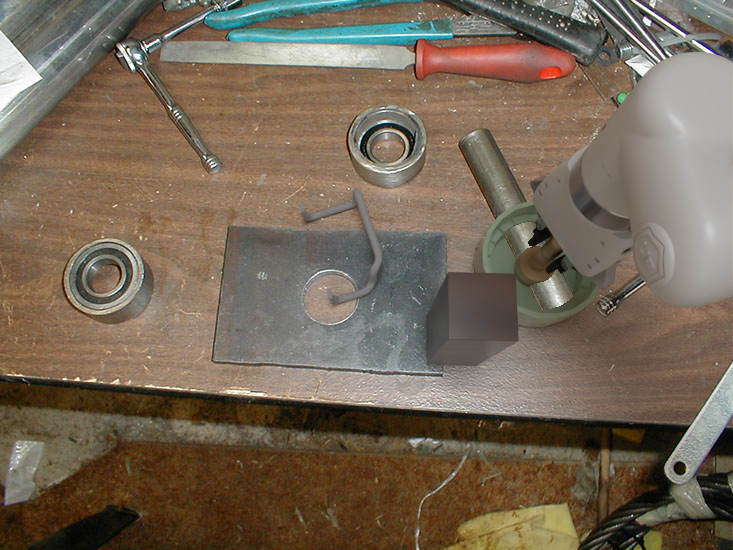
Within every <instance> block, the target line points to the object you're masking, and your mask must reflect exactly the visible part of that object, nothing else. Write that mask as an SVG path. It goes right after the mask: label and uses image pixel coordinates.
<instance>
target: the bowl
mask: <svg viewBox="0 0 733 550" xmlns="http://www.w3.org/2000/svg"><path fill="white" fill-rule="evenodd" d="M538 218H539V216H538V212H537V210H536V208H535V206H534V203H533V200H529V201H525V202H522V203H518V204H515V205H512V206H510V207H509V208H508V209H506V210H505V211H503V212H502V213H500V214H499V215H498V216H496V218H495V219H494V220H493V222H492V224H491V225H490V226H489V227H488V229H487V230H486V232H485V234H484V236H483V237H482V239H481V241H480V242H479V244H478V247H477V250H476V253H475V256H474V259H473V263H474V264H473V268H474V269H473V270H474V271H473V273H504V274H514V264H515V261H516V258H515V256H514V254H513V252H512V250H511V248H510V246H509V244H508V243H507V240H506V238H505V234H506V233H507V232H508V231H509V230H510V229H511V228H512V227H514V226H516V225H519V224H521V223H525V222H533V223H535V220H537V219H538ZM549 239H550V238H549ZM549 239H547V241H548V240H549ZM564 254H565V253H564V251H563V252H562V253H561V254H560V255H559V256H558V257H557V258H559V257H560V256H562V255H564ZM564 274H565V276H566V278H567V280H568V282H569V284H570V286H571V288H572V290H573V294H574V295H573V297H572V298H571V299H570V300H569V301H567V302H566V303H564V304H563V305H561V306H559V307H555V308H552V309H548V310H541V307H540V305H539V304H538V302H537V300H536V298H535V297H534V295H533V293H532V290H531V288H530V287H528V286H525V285H523V284H521V283H520V282H519V281H518V280H517V279H516V291H517V315H518V326H522V327H529V328H530V327H531V328H545V327H548V326H552V325H555V324H559V323H561V322H563V321H565V320H567V319H568V318H570V317H572V316H574V315H576V314H577V313H580V311H582V310H583V309H585V308H586V307H587V306H589V305H590V304H591V303H592V302H593V301H594V300H595V298H596V297H597V295H598V294H599V293H600V292H601V289H600V288H599V287H598V286H597V285H596V284H594V283H593V282H592V281H591V280H590V277H587V276H586V277H585V276H583V275H581V274H580V273H578V272H577V271H575V270H573V269H572V268H571V269H570V270H568V271H566V272H564Z"/></svg>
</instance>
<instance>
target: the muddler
mask: <svg viewBox="0 0 733 550" xmlns="http://www.w3.org/2000/svg"><path fill="white" fill-rule="evenodd" d="M562 252H563V250H562V248H561V247H560V245H559V244H558V242H557V241H556V239H555V238H554V236H553V235H552V237H551V238H550V239H549V240H548V241H547V242H546V243H545V244H544V245H543V246H542V247H540V246H534V247H530V248H527V249H526V250H525V251H524V252H523V253H522V254H521V255H520V256H519V258H518V259H517V260H516V261H515V264H514V274H516V279H517V280H518V281H519V282H520V283H521V284H523V285H525V286H528V287H530V286H531V285H534V284H537V283H540V282H544V281H546V280H548V279H549V278H550V277H552V275H553V274H554V272H555V271H554V272H552V273H550V274H548V273H547V272H546V267H548V266H549V265H550V264H551V263H552V262H553V261H554V260H555V259H556V258H557V257H558V256H559V255H560V254H561V253H562Z"/></svg>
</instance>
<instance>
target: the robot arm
mask: <svg viewBox="0 0 733 550" xmlns="http://www.w3.org/2000/svg"><path fill="white" fill-rule="evenodd" d="M529 185H530V188H531V191H532V193H533V195H532V201H533V203H534V206H535V208H536V210H537V212H538V216H539V218H538V219H537V220H535V224H536V228H535V229H534V230H533V233H534V235H533V237H532V238H531V239H530V240H529V241H528V244H529V246H532V247H534V246H536V245H537V244H539V243H541V242H543V241H545V240H547V239H549V238H551V237H552V235H553V236H554V238H555V239H556V241H557V242H558V244H559V245H560V247H561V248H562V250H563V251H564V253H565V254H564V255H562V256H560V257H559V258H557V259H555V260H554V261H553V262H552V263H551V264H550V265H549V266H548V267H546V272H547V273H548V274H550V273H552V272H554V271H555V270H557V269H558V271H559V272H560V274H562V273H564V272H566V271H568V270H570V269H571V268H572V269H573V270H575V271H577V272H578V273H580V274H581V275H583V276H585V277H586V276H587V277H590V280H591V281H592V282H593V283H594V284H596V285H597V286H598V287H599V288H600V290H602V291H603V290H605V289H607V288H608V287H610V286H612V285H614V283H615V277H616V273H617V266H618V264H620V263H621V262H624V261H625V260H626V259H627V258H629V257H630V256H631V255H633V262H634V265H635V269H636V270H637V273H638V275H639V276H640V278H641V279H642V280H643V282H644V283H645V284H646V287H647V288H648V290H649V291H650V293H652V294H653V296H655V298H657V299H658V300H660V301H661V302H663V303H664V304H666V305H668V306H672V307H675V308H681V309H689V308H690V309H691V308H698V307H704V306H707V305H708V306H709V305H710V304H715V303H718V302H721V301H725V300H728V299H731V298H733V61H732V60H730V59H728V58H726V57H724V56H721V55H718V54H716V53H712V52H707V51H706V52H705V51H688V52H687V51H686V52H681V53H677V54H674V55H671V56H669V57H667V58H665V59H663V60H660V61H659V62H657V63H656V64H655V65H653V66H652V67H650V68H649V69H648V70H647V71H646V72H645V73H644V74H643V76H642V77H641V78H640V79H639V80H638V81H637V83H636V84H635V85H634V86H633V88H631V90H630V91H629V93H628V94H627V96H625V98H624V99H623V100H622V102H621V103H620V105H618V107H617V108H616V109H615V111H614V112H613V113H612V115H611V116H610V118H609V119H607V121H606V122H605V124H604V125H603V126H602V128H600V130H599V131H598V133H597V134H596V136H595V137H593V140H592V141H591V142H590V143H588V144H587V145H585V146H583V147H581V148H580V149H578V150H577V151H575V152H574V153H573V154H571V155H570V156H569V157H567V158H566V159H565V160H564V161H562V162H561V163H560V164H558V166H556V167H555V168H554V169H553V170H552V171H551V172H550V173H549V174H548V175H540V176H538V177H536V178H534V179H532V180H530V181H529Z"/></svg>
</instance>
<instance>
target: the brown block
mask: <svg viewBox="0 0 733 550" xmlns="http://www.w3.org/2000/svg"><path fill="white" fill-rule="evenodd" d="M518 342H519V324H518V315H517V291H516V274H504V273H474V272H465V271H464V272H460V271H448V272H447V273H446V275H445V277H444V279H443V281H442V284H441V286H440V288H439V290H438V291H437V294H436V296H435V298H434V300H433V302H432V304H431V306H430V308H429V310H428V312H427V314H426V365H427V364H436V365H435V366H460V367H477V366H479V365H480V364H482V363H484V362H485V361H487V360H489V359H491V358H493V357H494V356H496V355H497V354H499V353H501V352H502V351H504V350H506V349H508V348H509V347H511V346H513V345H515V344H516V343H518Z"/></svg>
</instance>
